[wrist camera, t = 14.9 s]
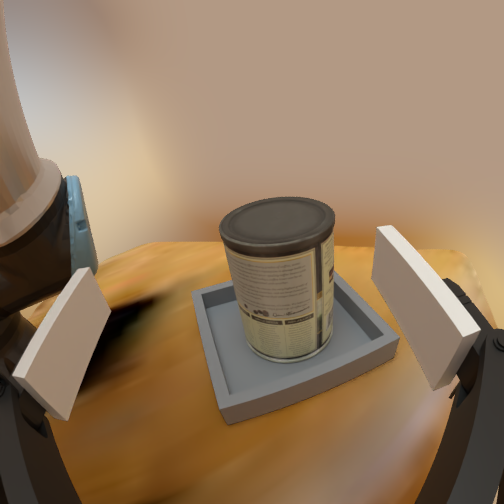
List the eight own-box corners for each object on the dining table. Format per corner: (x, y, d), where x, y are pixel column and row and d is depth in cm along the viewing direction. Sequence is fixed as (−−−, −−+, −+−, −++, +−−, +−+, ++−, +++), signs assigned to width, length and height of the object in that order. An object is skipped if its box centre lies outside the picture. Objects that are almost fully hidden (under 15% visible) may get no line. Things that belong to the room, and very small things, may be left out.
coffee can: (242, 308, 37) (220, 205, 30) (321, 295, 37) (317, 190, 30) (246, 371, 28) (215, 254, 21) (344, 354, 28) (352, 232, 21)
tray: (227, 425, 23) (219, 409, 21) (197, 310, 39) (191, 291, 37) (393, 357, 26) (399, 337, 25) (318, 273, 42) (318, 254, 41)
